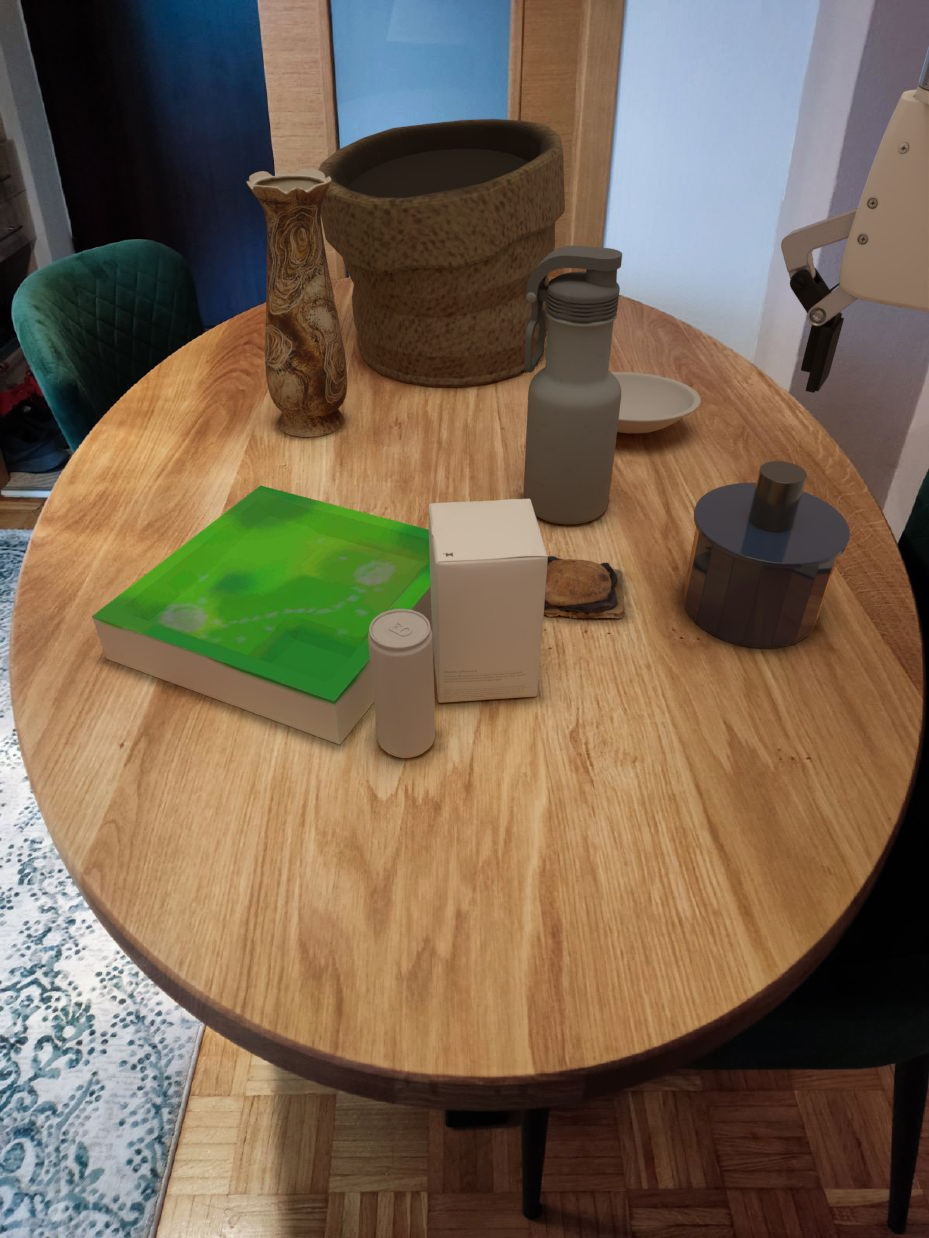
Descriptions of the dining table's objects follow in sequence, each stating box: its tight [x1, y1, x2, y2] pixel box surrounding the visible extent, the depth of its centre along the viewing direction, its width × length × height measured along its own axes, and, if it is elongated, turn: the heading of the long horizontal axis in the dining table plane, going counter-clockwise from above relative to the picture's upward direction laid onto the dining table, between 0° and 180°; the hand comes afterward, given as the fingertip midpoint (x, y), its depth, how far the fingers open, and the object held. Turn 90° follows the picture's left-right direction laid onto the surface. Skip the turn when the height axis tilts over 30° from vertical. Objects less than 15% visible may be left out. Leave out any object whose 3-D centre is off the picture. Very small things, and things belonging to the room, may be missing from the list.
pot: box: [317, 118, 566, 388], centre depth 128 cm, size 35×35×30 cm
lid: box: [693, 460, 851, 568], centre depth 79 cm, size 14×14×6 cm
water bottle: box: [522, 245, 623, 526], centre depth 92 cm, size 10×10×28 cm
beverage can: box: [368, 609, 436, 759], centre depth 69 cm, size 5×5×12 cm
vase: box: [245, 168, 348, 438], centre depth 108 cm, size 10×11×30 cm
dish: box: [610, 371, 702, 434], centre depth 114 cm, size 18×14×5 cm
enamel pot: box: [683, 527, 839, 649], centre depth 83 cm, size 13×13×10 cm
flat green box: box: [91, 485, 432, 745], centre depth 83 cm, size 25×25×5 cm
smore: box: [544, 555, 626, 620], centre depth 87 cm, size 11×8×4 cm
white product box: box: [427, 498, 549, 703], centre depth 75 cm, size 9×9×15 cm
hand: (898, 401), depth 53 cm, fingers open, 9 cm apart
